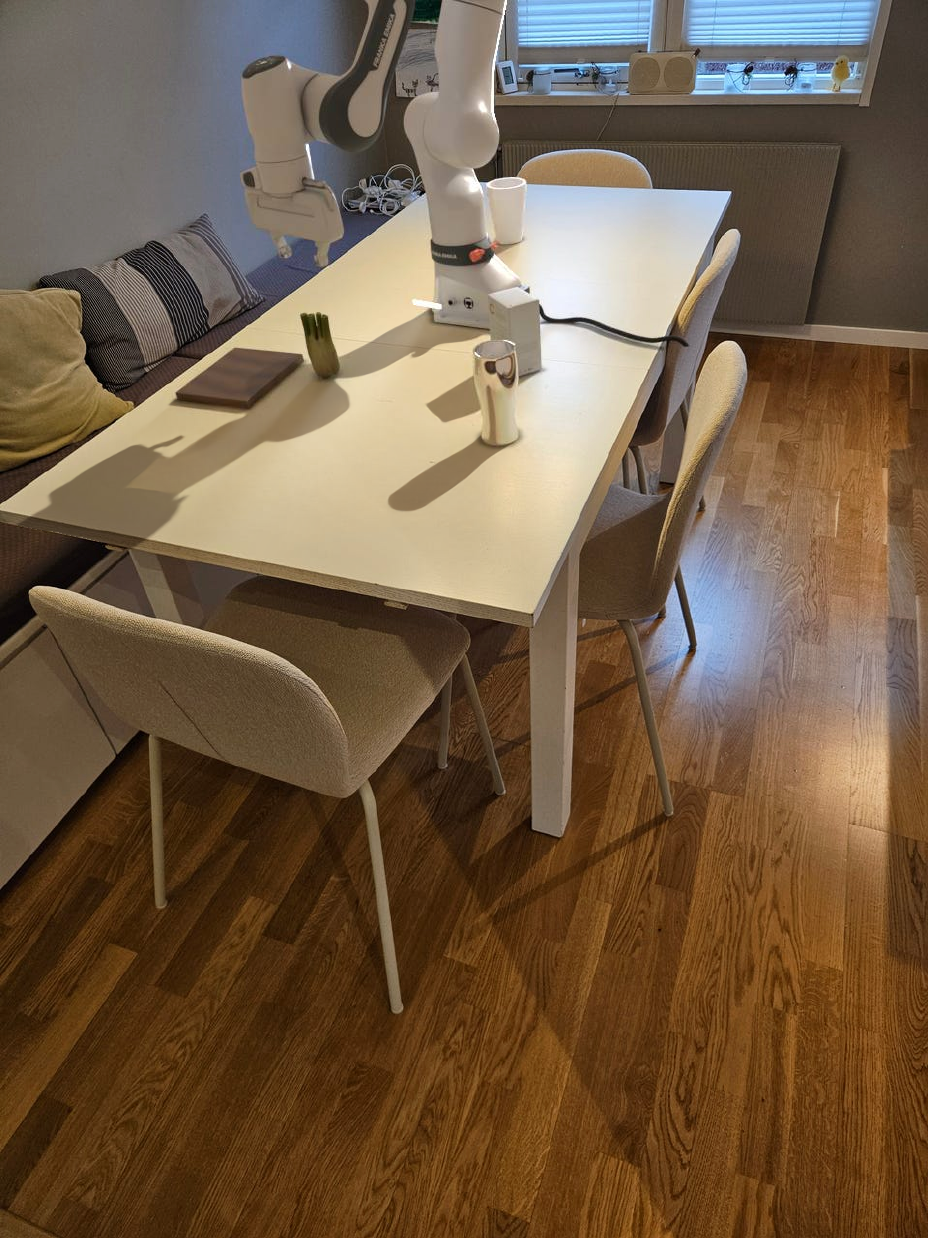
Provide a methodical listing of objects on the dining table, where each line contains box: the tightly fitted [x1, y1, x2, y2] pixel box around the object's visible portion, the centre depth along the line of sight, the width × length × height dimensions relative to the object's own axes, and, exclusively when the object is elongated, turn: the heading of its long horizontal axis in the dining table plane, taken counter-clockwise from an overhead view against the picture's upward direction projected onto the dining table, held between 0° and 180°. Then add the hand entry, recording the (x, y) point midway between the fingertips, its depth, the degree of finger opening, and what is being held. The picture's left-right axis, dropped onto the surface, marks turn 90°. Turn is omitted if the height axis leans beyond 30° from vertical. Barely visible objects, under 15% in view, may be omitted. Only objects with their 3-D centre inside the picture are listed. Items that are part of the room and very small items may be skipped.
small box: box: [488, 287, 543, 378], centre depth 156 cm, size 8×6×13 cm
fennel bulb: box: [299, 311, 341, 379], centre depth 161 cm, size 6×5×12 cm
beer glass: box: [472, 339, 520, 446], centre depth 136 cm, size 7×7×15 cm
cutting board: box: [174, 347, 305, 410], centre depth 166 cm, size 20×16×2 cm
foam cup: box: [485, 176, 528, 245], centre depth 209 cm, size 10×9×13 cm
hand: (303, 260), depth 151 cm, fingers open, 8 cm apart
